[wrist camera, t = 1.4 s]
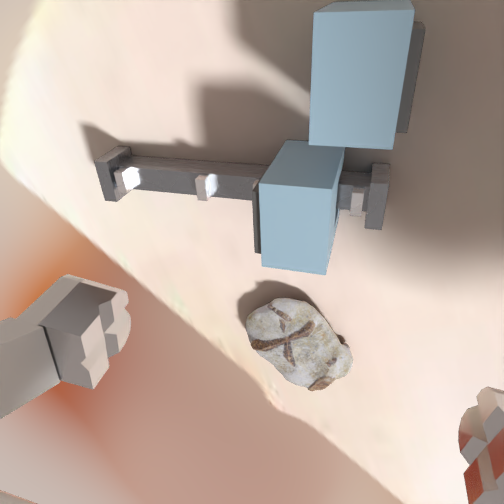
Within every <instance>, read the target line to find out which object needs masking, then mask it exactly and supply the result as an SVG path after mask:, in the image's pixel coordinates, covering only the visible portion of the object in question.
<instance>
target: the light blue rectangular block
mask: <svg viewBox="0 0 504 504" xmlns="http://www.w3.org/2000/svg"><path fill="white" fill-rule="evenodd" d="M344 154H345V147H336V146H319V145H309V141H296V140H286V141H285V143H284V145H283V146H282V148H281V149H280V151H279V152H278V154H277V155H276V157H275V159H274V160H273V162H272V163H271V165H270V166H269V168H268V170H267V171H266V172H264V173H263V175H262V176H261V178H260V180H259V181H258V183H257V184H256V186H255V187H254V189H253V190H252V205H253V226H254V247H255V253H260V254H261V258H262V266H263V267H270V268H277V269H285V270H292V271H299V272H306V273H313V274H320V275H326V271H327V267H328V263H329V258H330V254H331V249H332V245H333V241H334V236H335V232H336V227H337V223H338V219H339V209H336V201H337V189H338V181H339V177H340V174H341V170H342V166H343V163H344Z"/></svg>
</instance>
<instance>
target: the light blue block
mask: <svg viewBox="0 0 504 504" xmlns="http://www.w3.org/2000/svg"><path fill="white" fill-rule="evenodd" d="M414 14H415V8H414V6H413V4H412V2H411V0H371V1H343V2H333V3H331V4H329V5H327V6H325V7H323V8H321V9H319V10H318V11H316V12H314V17H313V43H312V70H311V96H310V122H309V145H319V146H336V147H354V148H372V149H389V150H393V144H394V138H395V132H397V133H407V130H408V124H409V119H410V113H411V107H412V102H413V96H414V91H415V85H416V79H417V74H418V68H419V62H420V57H421V51H422V46H423V40H424V34H425V27H424V25H423V23H422V22H413V20H414Z"/></svg>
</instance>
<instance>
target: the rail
mask: <svg viewBox="0 0 504 504" xmlns="http://www.w3.org/2000/svg"><path fill="white" fill-rule="evenodd" d="M94 163H95V166H96V170H97V174H98V177H99V181H100V184H101V188H102V191H103V195H104V198H105V201H115V202H117V201H119V200H120V199H121V198H122V197H123V196H125V195H126V194H127V193H128V192H129V191H131V190H132V189H139V190H149V191H159V192H170V193H180V194H190V195H197V198H198V200H202V201H207V200H208V199H209V198H210V197H222V198H232V199H242V200H252V190H253V189H254V187H255V186H256V184H257V183H258V181H259V180H260V178H261V176H262V175H263V173H264V172H266V171H267V170H268V168H269V165H255V164H241V163H228V162H214V161H200V160H186V159H172V158H158V157H144V156H132V155H131V150H130V147H123V146H117V147H116V148H114V149H113V150H111V151H109V152H108V153H106V154H105V155H103V156H102V157H100V158H98V159H97V160H95V161H94ZM389 169H390V164H381V163H373V166H372V173H366V172H352V171H341V174H340V177H339V181H338V189H337V201H336V209H346V210H350V215H352V216H361V213H362V211H366V220H365V228H367V229H376V230H382V224H383V218H384V212H385V206H386V200H387V194H388V188H389Z"/></svg>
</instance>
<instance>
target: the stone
mask: <svg viewBox="0 0 504 504" xmlns="http://www.w3.org/2000/svg"><path fill="white" fill-rule="evenodd" d="M246 331H247V334H248V337H249V341H250V343H251V346H252V348H253V349H255V350H256V351H257V353H258V354H259V355H260V356H262V357H263V358H265V359H266V360H267V361H269V362H270V363H272V364H273V365H274V366H275V368H276V369H277V370H278V371H279V372H280V373H281V374H282V375H283V376H284V378H285V379H286V380H288V381H289V382H291V383H293V384H295V385H298V386H304V387H307V388H308V390H310V391H315V390H322V389H325V388H326V387H327V386H329V385H330V384H331V383H332V382H333V381H334V380H336V379H338V378H341V377H344V376H346V375H347V374H348V373H349V372H350V369H351V367H352V363H353V357H352V354H351V352H350V349H349V348H350V347H349V346H348V344H346V343H343V344H341V343H340V341H339V339H338V337H337V336H336V334H335V333H334V332H333V330H332V328H331V327H330V326H329V324H328V323H327V321H326V320H325V319H324V317H323V316H321V315H320V313H319V312H318V311H317V310H316V309H315V308H314V307H313V306H311V305H309V304H308V303H306V301H299V300H295V299H290V298H276V299H274V300H273V301H272V302H270V303H269V304H267V305H265V306H262V307H260V308H257V309H256V310H254V311H253V312H252V313H250V314H249V315H248V317H247V321H246Z"/></svg>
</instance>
